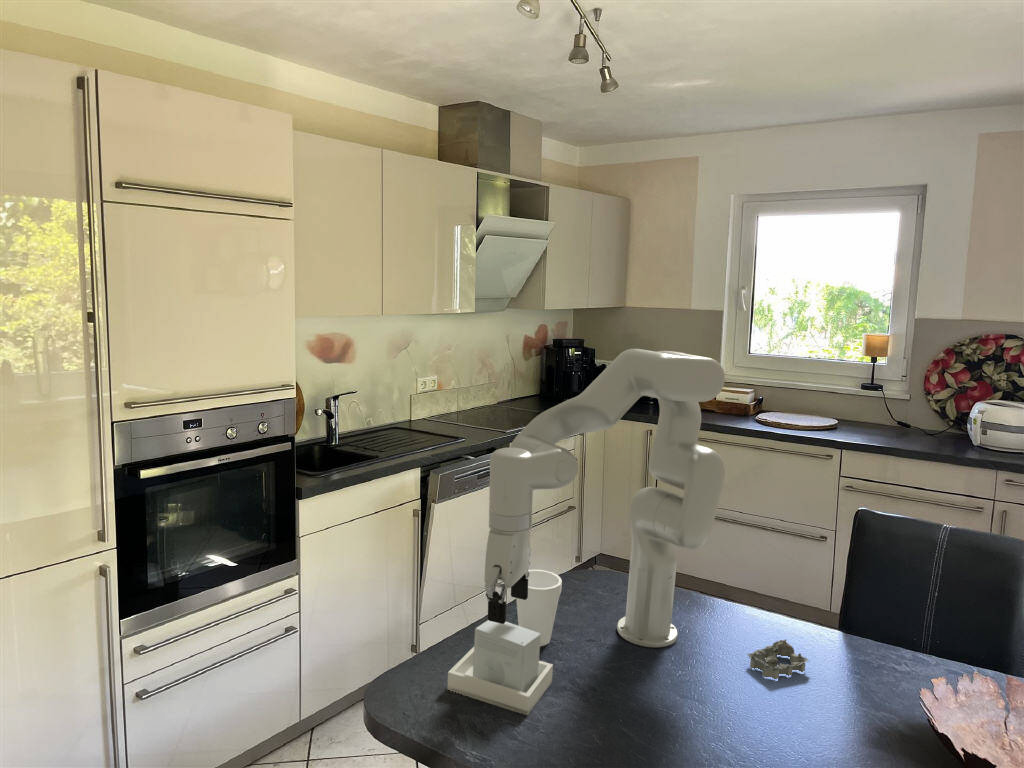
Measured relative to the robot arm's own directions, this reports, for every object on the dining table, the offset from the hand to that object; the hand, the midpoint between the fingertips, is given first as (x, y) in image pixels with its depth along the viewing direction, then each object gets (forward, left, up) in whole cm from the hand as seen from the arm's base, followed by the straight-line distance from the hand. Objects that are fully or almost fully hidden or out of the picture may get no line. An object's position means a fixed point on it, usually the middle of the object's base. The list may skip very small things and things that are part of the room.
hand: (508, 609), depth 132 cm
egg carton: (-31, +45, -15) cm, 57 cm away
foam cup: (-18, -1, -15) cm, 24 cm away
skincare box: (+1, +1, -14) cm, 14 cm away
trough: (+1, 0, -15) cm, 15 cm away
